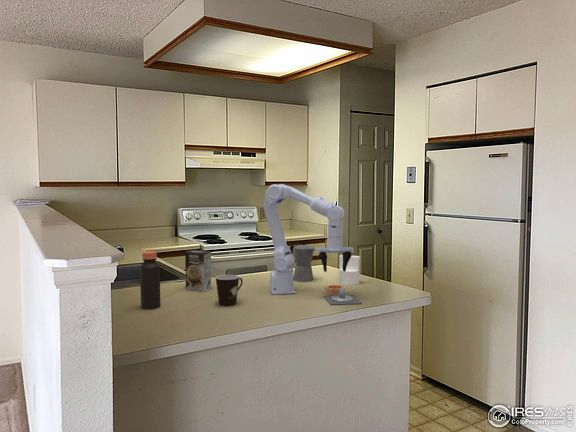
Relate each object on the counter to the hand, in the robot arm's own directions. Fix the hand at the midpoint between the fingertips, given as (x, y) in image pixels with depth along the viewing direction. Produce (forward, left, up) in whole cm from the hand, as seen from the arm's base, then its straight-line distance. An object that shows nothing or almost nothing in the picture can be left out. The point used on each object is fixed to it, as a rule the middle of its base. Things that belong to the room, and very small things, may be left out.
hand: (334, 271), depth 180 cm
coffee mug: (-40, -4, -10) cm, 42 cm away
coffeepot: (-7, +31, -10) cm, 33 cm away
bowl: (+2, +5, -10) cm, 11 cm away
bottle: (-69, -5, -10) cm, 70 cm away
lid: (+1, -6, -10) cm, 12 cm away
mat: (+2, -6, -10) cm, 12 cm away
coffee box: (-53, +19, -10) cm, 58 cm away
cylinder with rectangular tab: (+13, +22, -10) cm, 27 cm away
